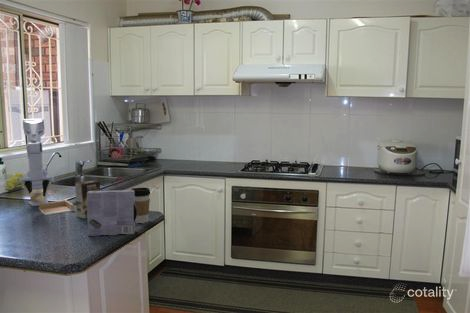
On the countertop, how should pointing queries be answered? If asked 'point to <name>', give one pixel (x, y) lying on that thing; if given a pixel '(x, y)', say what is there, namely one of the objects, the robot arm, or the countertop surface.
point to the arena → (56, 207)
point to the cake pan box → (111, 212)
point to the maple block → (37, 196)
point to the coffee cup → (142, 204)
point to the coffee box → (84, 195)
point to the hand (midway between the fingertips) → (38, 196)
